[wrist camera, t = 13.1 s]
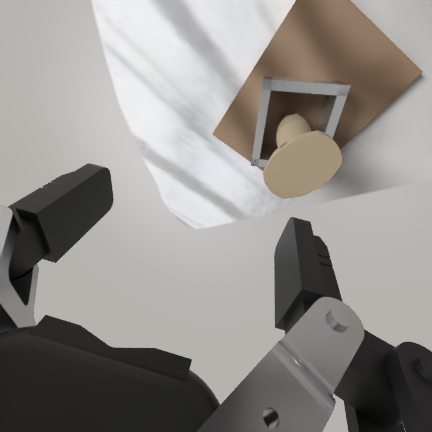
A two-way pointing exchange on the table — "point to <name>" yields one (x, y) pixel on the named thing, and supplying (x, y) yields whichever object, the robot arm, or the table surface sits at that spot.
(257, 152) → the collar
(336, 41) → the walnut board
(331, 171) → the handle
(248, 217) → the table surface
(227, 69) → the table surface
